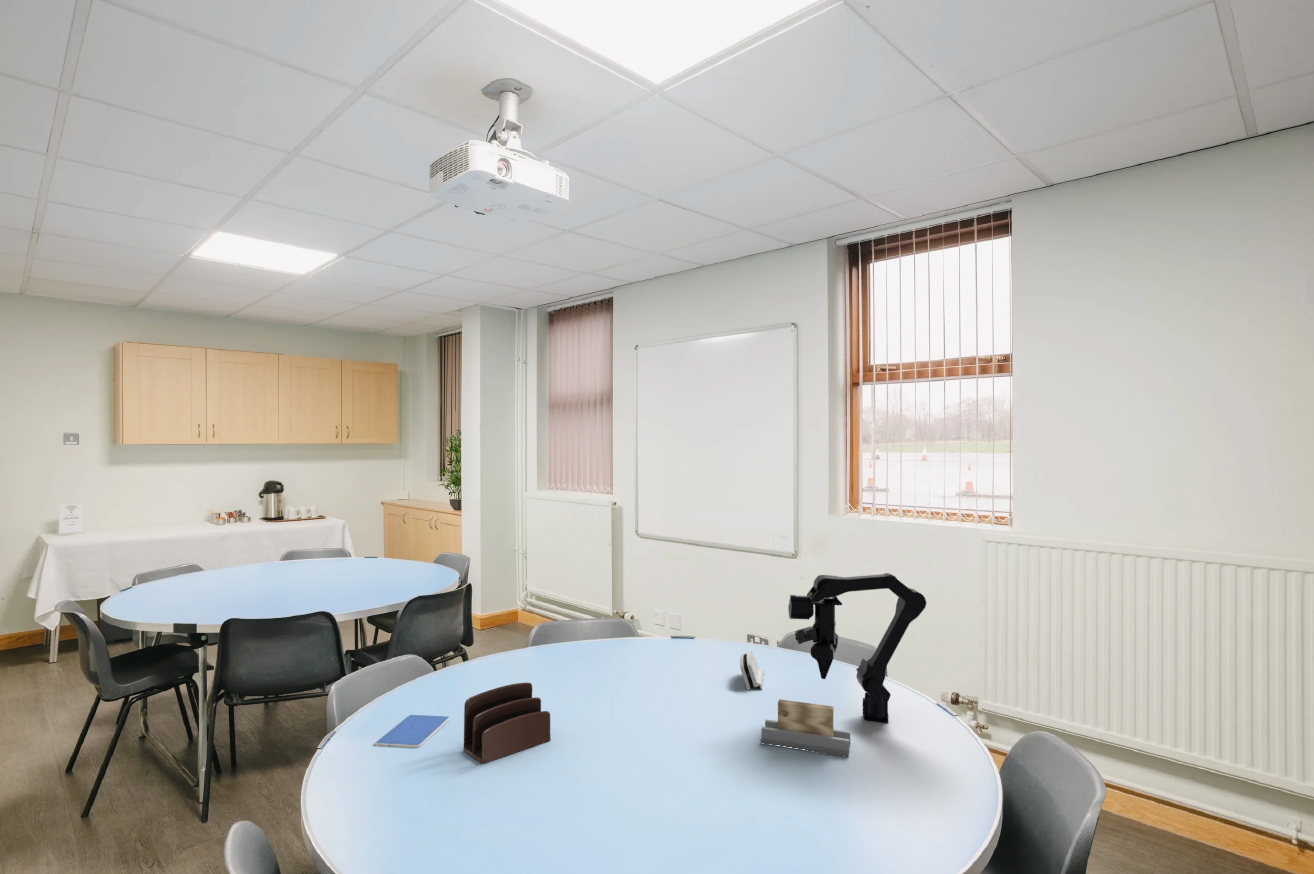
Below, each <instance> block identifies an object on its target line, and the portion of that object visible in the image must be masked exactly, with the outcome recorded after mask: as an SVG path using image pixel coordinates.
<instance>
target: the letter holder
mask: <svg viewBox="0 0 1314 874" xmlns="http://www.w3.org/2000/svg"><path fill="white" fill-rule="evenodd" d="M463 712H464V713H463V747H462V748H463V749H462V750H463V752H464V753H466V754H467V755H468V756H470V757H471V758H472V759H474V760H475V761H477V762H479V763H480V764H481V765H484V764H487V763H489V762H492V761H496V760H498V759H501V758H504V757H508V756H511V755H513V754H516V753H519V752H522V751H524V750H528V749H530V748H534V747H537V746H539V745H542V744H545V743H548V742H550V741H551V740H552V738H551V713H550V711H549V710H548V711H547V710H542V700H541V698H540V697H533V684H532V682H528V681H527V682H518V683H511V684H507V685H502V686H499V687H496V688H493V689H489V690H486V691H483V692H480V693H478V694H475V695H473V696H471V697H469V698H467V699H466V700H465V702H464V708H463Z"/></svg>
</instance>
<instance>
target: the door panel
mask: <svg viewBox="0 0 1314 874" xmlns="http://www.w3.org/2000/svg"><path fill="white" fill-rule="evenodd" d="M777 721H778V729H782V730H789V731H796V732H803V733H809V734H816V735H823V736H830V737H833V729H834V706H832V705H826V704H818V703H810V702H801V701H793V700H787V699H780V698H779V699H778V701H777Z"/></svg>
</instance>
